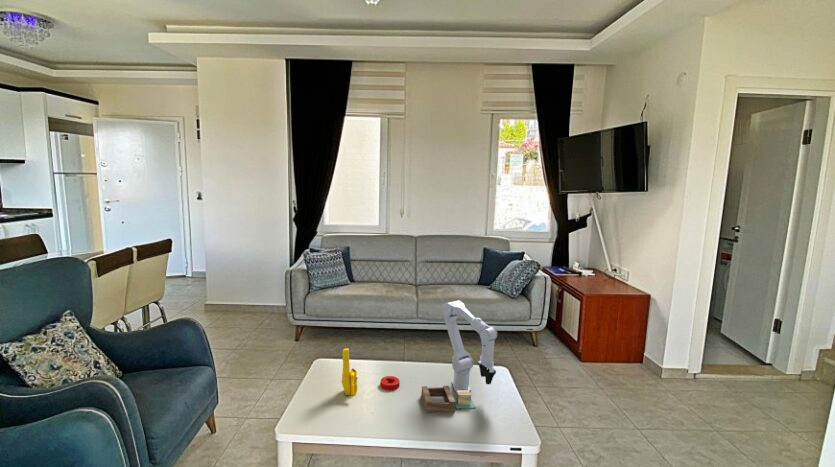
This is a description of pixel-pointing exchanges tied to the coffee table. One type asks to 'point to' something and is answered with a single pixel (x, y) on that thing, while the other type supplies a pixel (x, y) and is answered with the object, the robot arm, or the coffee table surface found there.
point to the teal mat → (464, 405)
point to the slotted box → (438, 399)
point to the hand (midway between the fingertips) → (485, 380)
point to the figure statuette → (348, 375)
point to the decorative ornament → (390, 383)
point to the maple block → (463, 397)
